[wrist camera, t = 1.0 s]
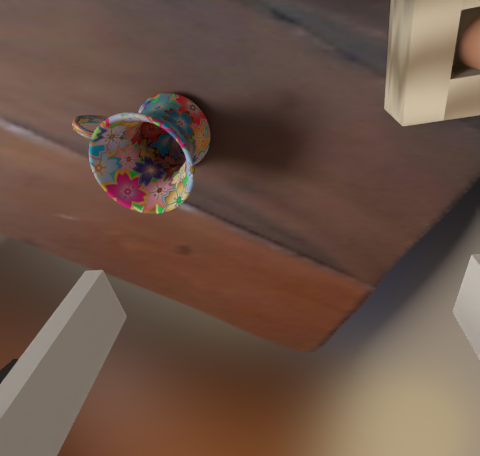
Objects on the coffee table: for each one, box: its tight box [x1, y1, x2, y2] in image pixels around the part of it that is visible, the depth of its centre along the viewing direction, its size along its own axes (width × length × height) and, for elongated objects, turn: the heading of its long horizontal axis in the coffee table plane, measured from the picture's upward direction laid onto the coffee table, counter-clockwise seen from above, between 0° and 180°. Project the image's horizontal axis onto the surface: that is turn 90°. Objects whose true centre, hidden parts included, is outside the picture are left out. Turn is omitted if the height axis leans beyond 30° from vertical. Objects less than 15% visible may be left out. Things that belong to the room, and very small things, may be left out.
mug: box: [72, 93, 210, 214], centre depth 31 cm, size 12×9×11 cm
